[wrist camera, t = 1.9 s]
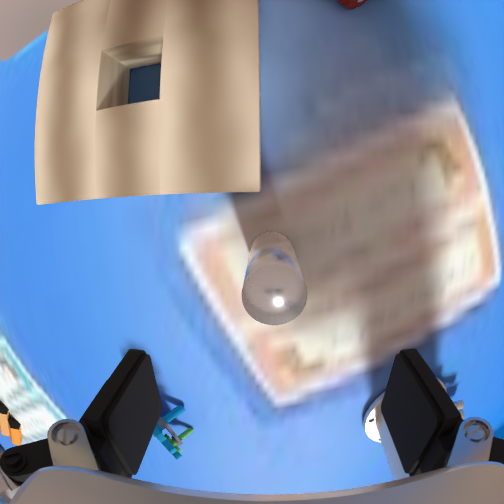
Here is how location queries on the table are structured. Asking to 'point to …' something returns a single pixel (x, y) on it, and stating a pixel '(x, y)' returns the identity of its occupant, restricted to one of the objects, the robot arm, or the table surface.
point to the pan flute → (9, 426)
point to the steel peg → (273, 281)
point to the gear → (171, 432)
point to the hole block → (149, 112)
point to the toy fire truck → (351, 3)
